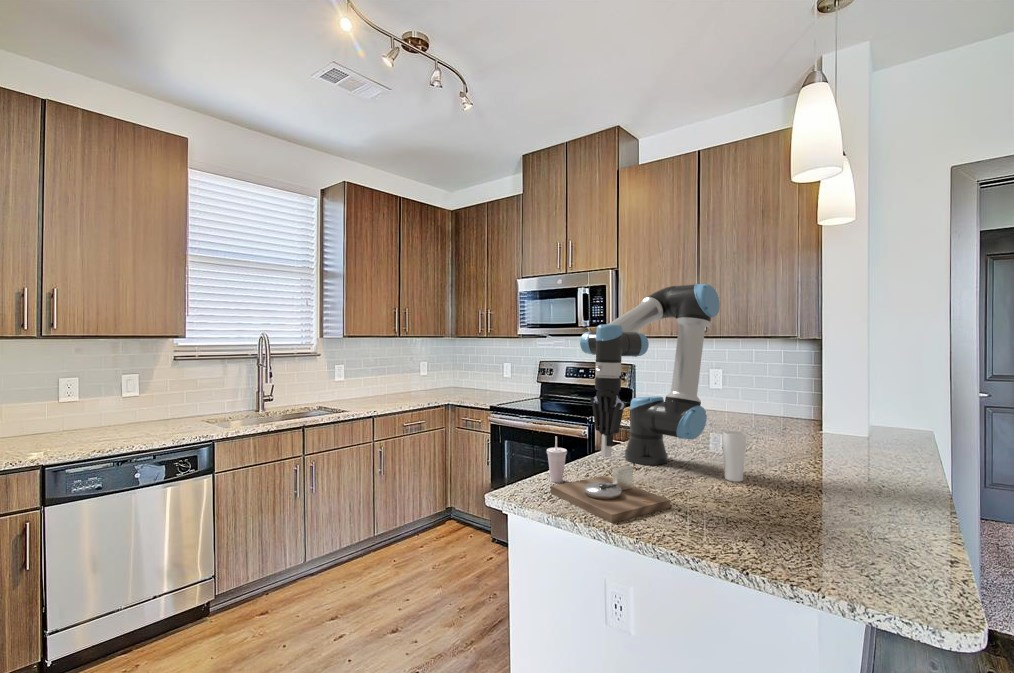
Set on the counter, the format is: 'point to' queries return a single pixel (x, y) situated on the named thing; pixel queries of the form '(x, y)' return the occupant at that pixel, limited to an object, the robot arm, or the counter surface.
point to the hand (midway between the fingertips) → (606, 456)
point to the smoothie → (556, 462)
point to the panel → (611, 500)
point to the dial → (608, 490)
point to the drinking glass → (734, 455)
